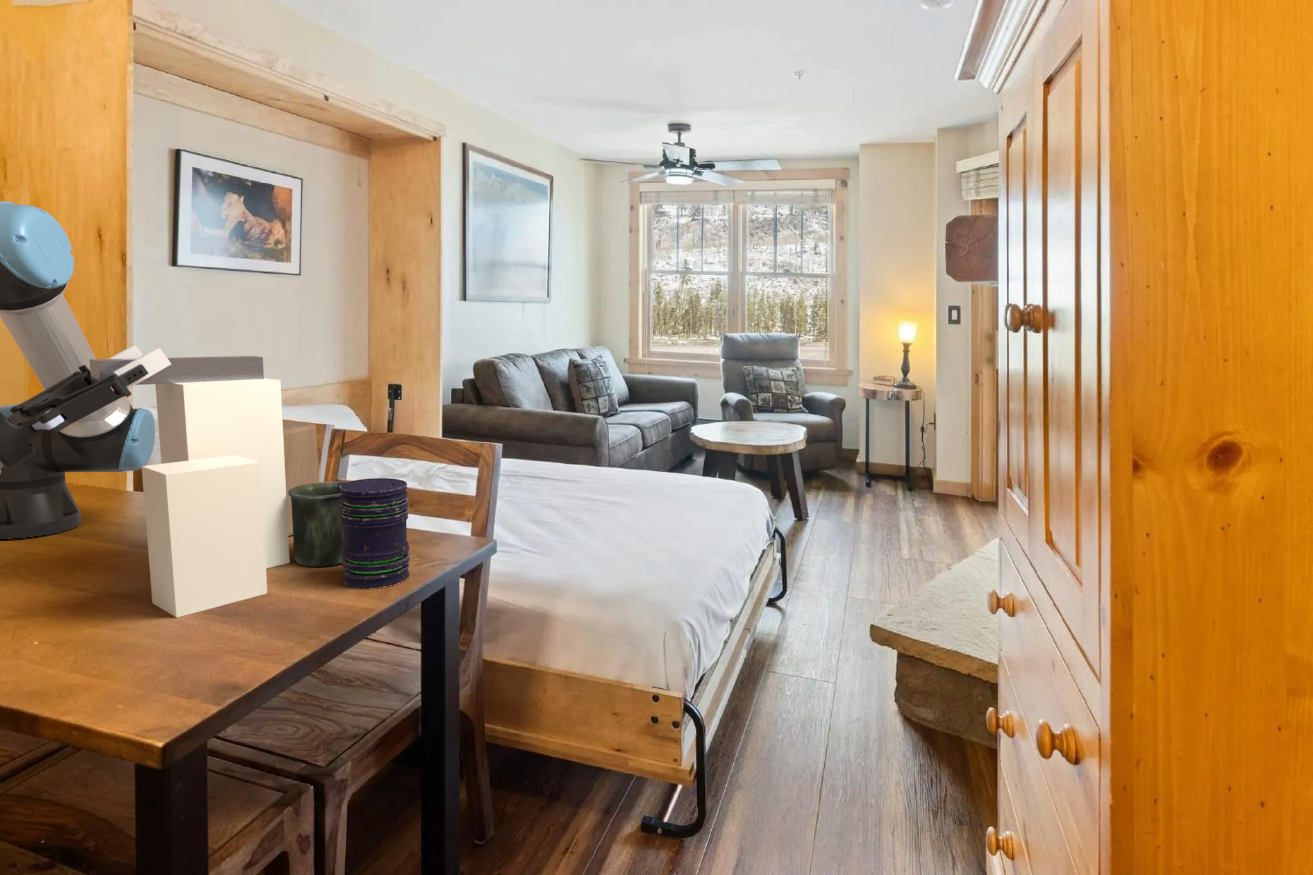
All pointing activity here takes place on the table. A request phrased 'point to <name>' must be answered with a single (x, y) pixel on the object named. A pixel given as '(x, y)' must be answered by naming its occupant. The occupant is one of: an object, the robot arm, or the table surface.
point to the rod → (188, 369)
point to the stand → (232, 439)
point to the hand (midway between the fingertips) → (152, 354)
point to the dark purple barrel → (374, 532)
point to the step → (204, 533)
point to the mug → (317, 524)
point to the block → (299, 459)
